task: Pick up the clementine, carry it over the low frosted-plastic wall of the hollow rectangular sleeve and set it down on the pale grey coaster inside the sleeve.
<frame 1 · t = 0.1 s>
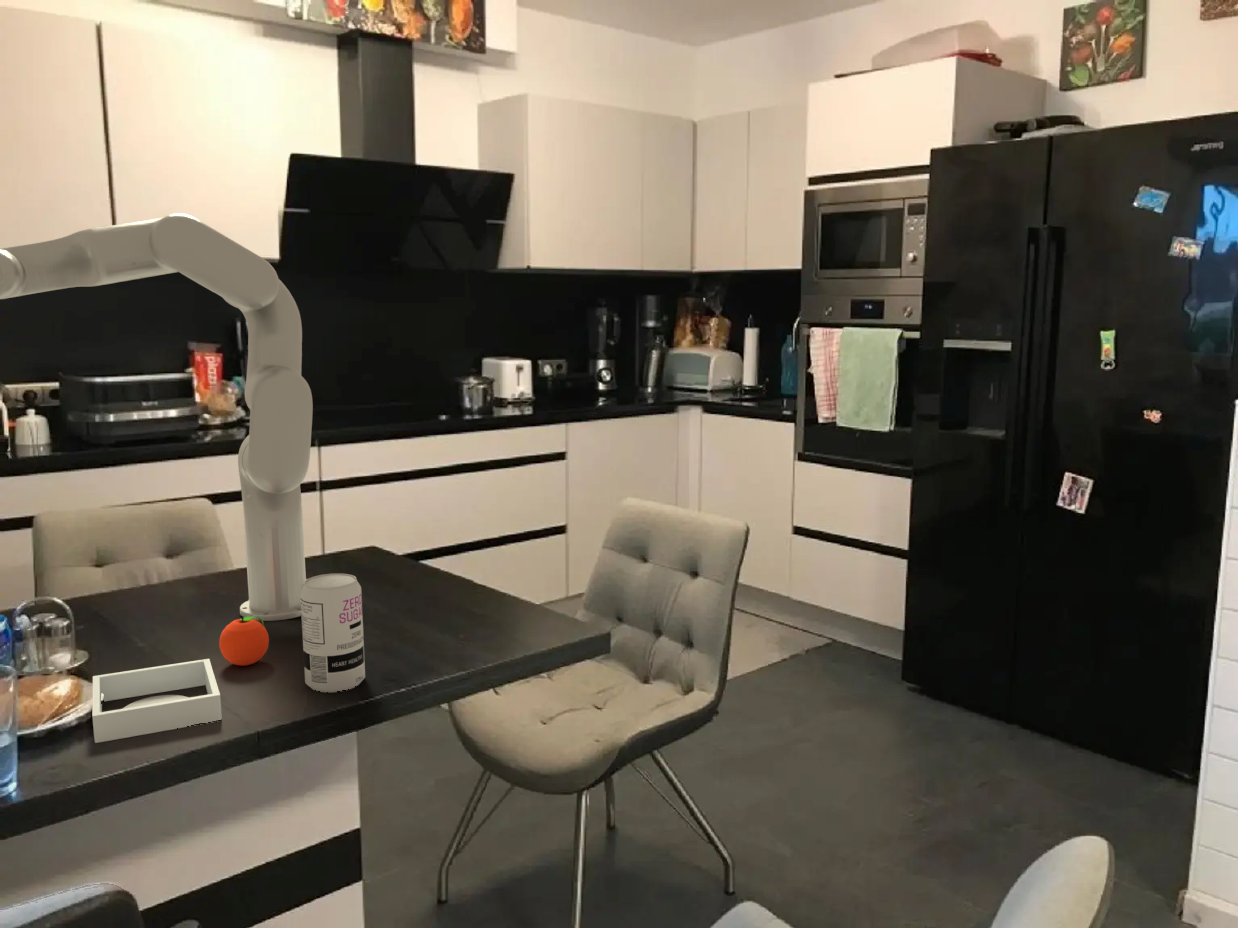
supplement can: (335, 684, 143), on the counter
hollow rectangular sleeve: (157, 710, 134), on the counter
clementine: (248, 664, 151), on the counter
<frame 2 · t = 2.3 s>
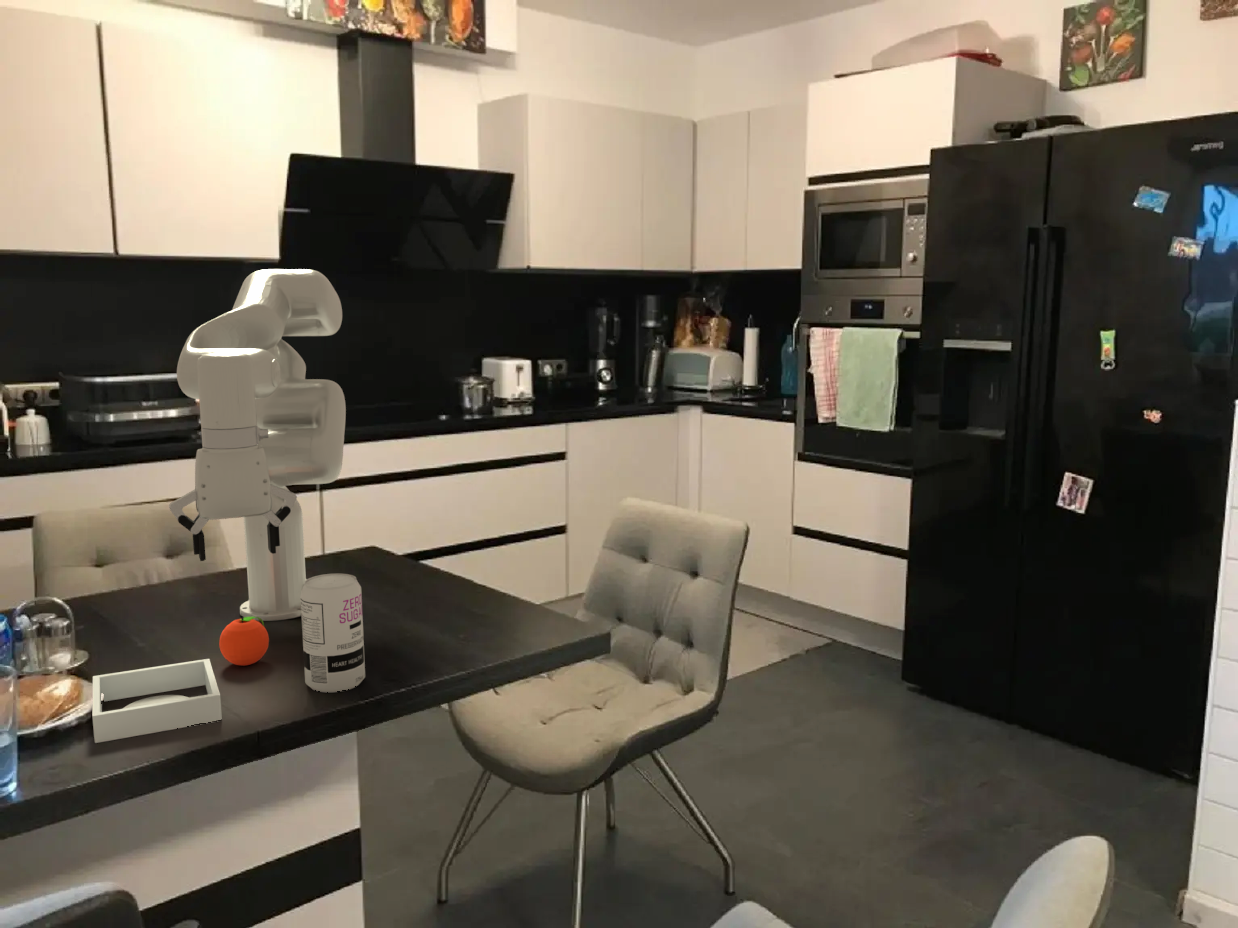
hand: (237, 555, 148), 17 cm above the counter, tool pointing down, fingers open, 9 cm apart
nothing on the counter moved.
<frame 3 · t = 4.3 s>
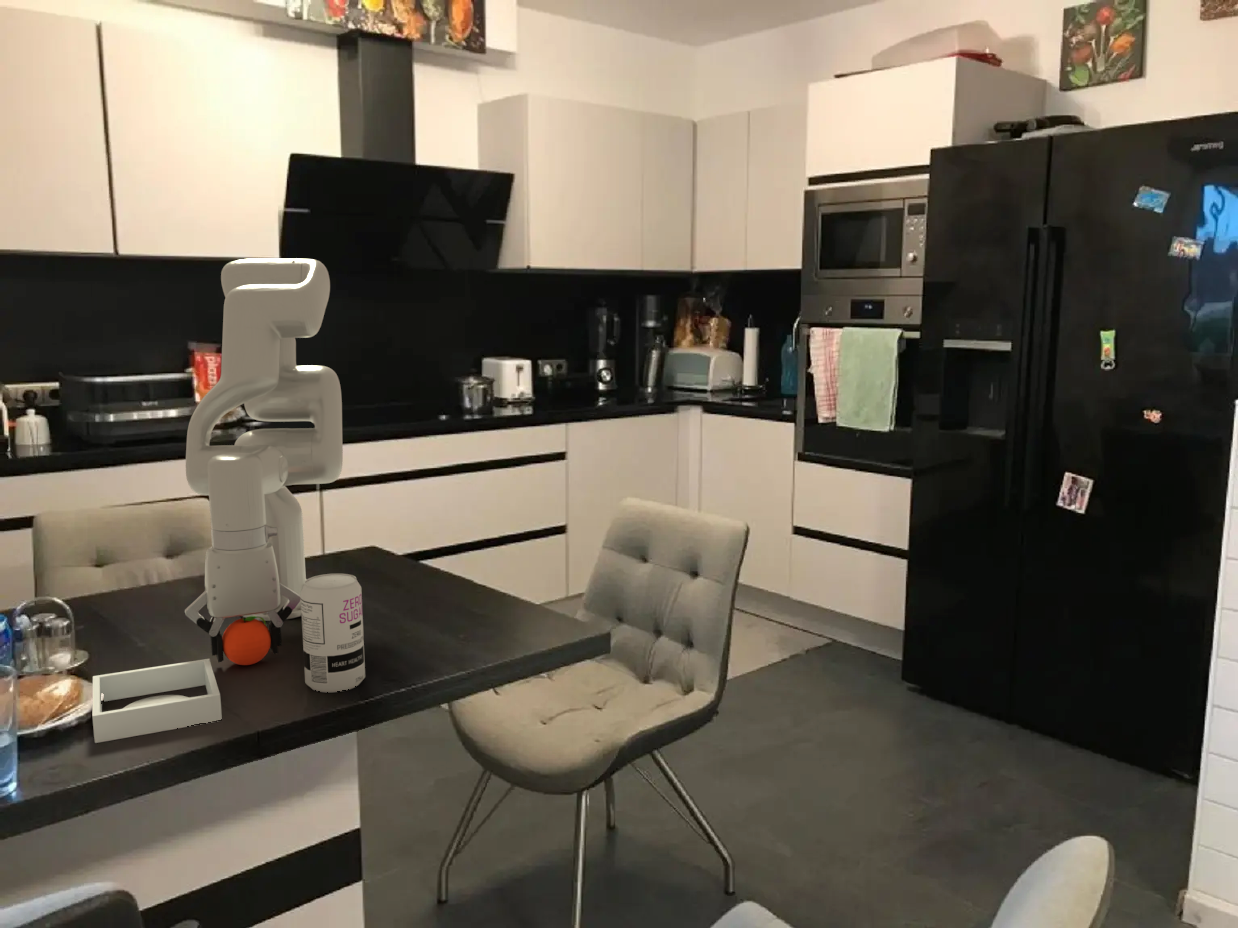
hand: (247, 654, 151), 1 cm above the counter, tool pointing down, fingers closed on clementine, 7 cm apart
clementine: (250, 663, 151), on the counter, touching gripper
everything else where it was.
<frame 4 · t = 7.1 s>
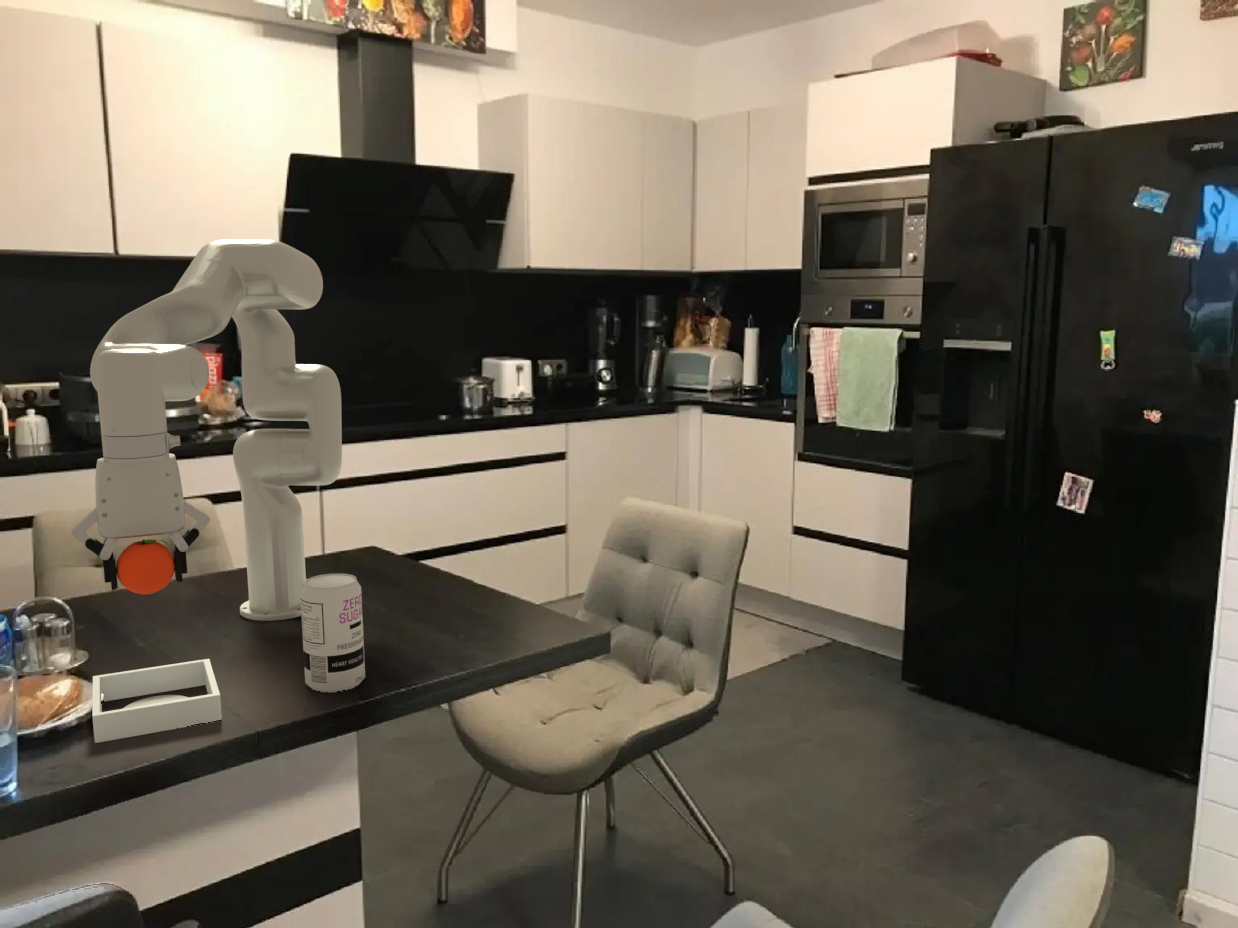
hand: (147, 582, 131), 17 cm above the counter, tool pointing down, fingers closed on clementine, 7 cm apart
clementine: (151, 593, 132), point 16 cm above the counter, touching gripper
everything else where it was.
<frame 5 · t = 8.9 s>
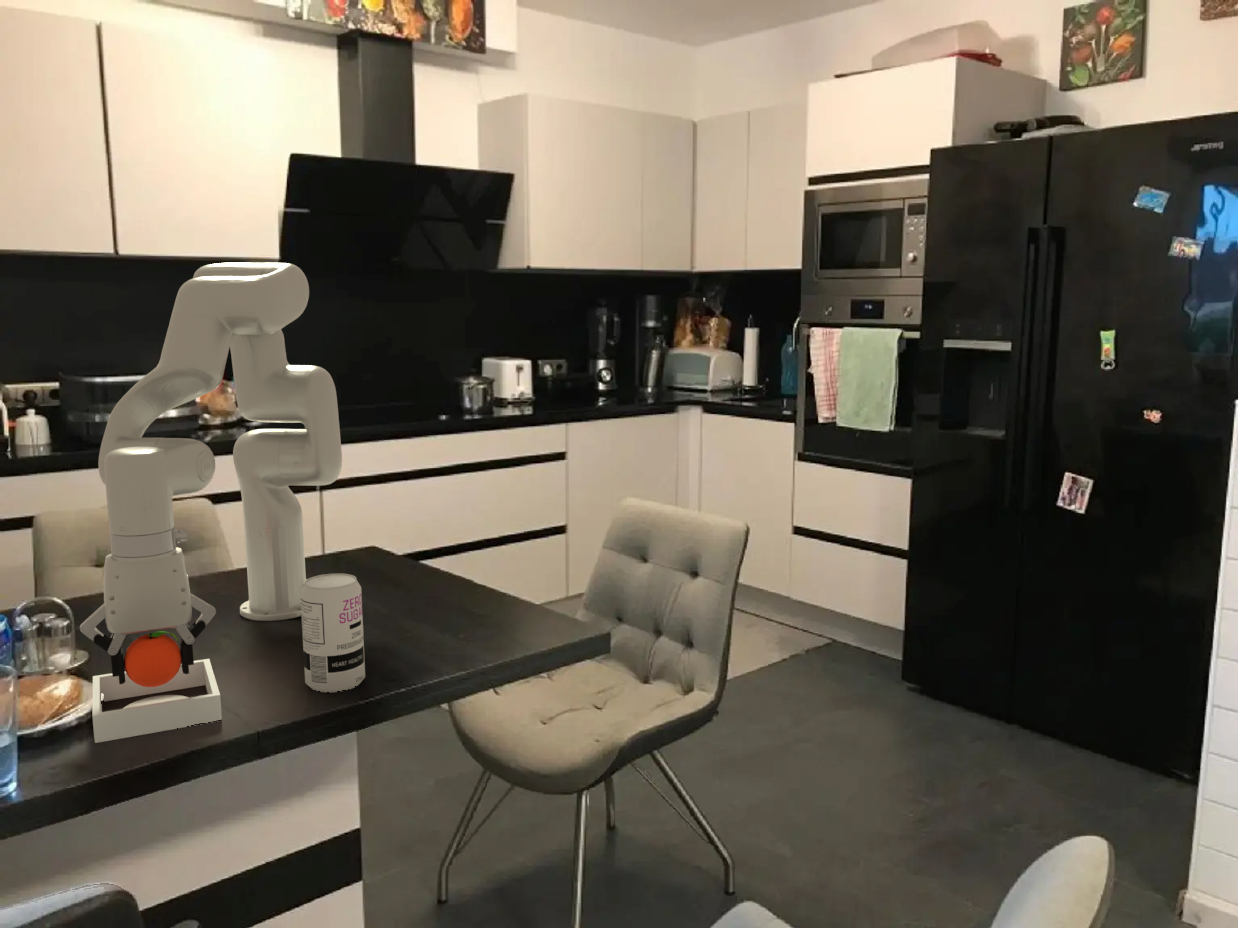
hand: (154, 674, 133), 5 cm above the counter, tool pointing down, fingers closed on clementine, 7 cm apart
clementine: (158, 685, 134), point 3 cm above the counter, touching gripper
everything else where it was.
when the fingers open (4 cm above the counter, at t = 10.0 s): clementine drops 2 cm, resting on hollow rectangular sleeve.
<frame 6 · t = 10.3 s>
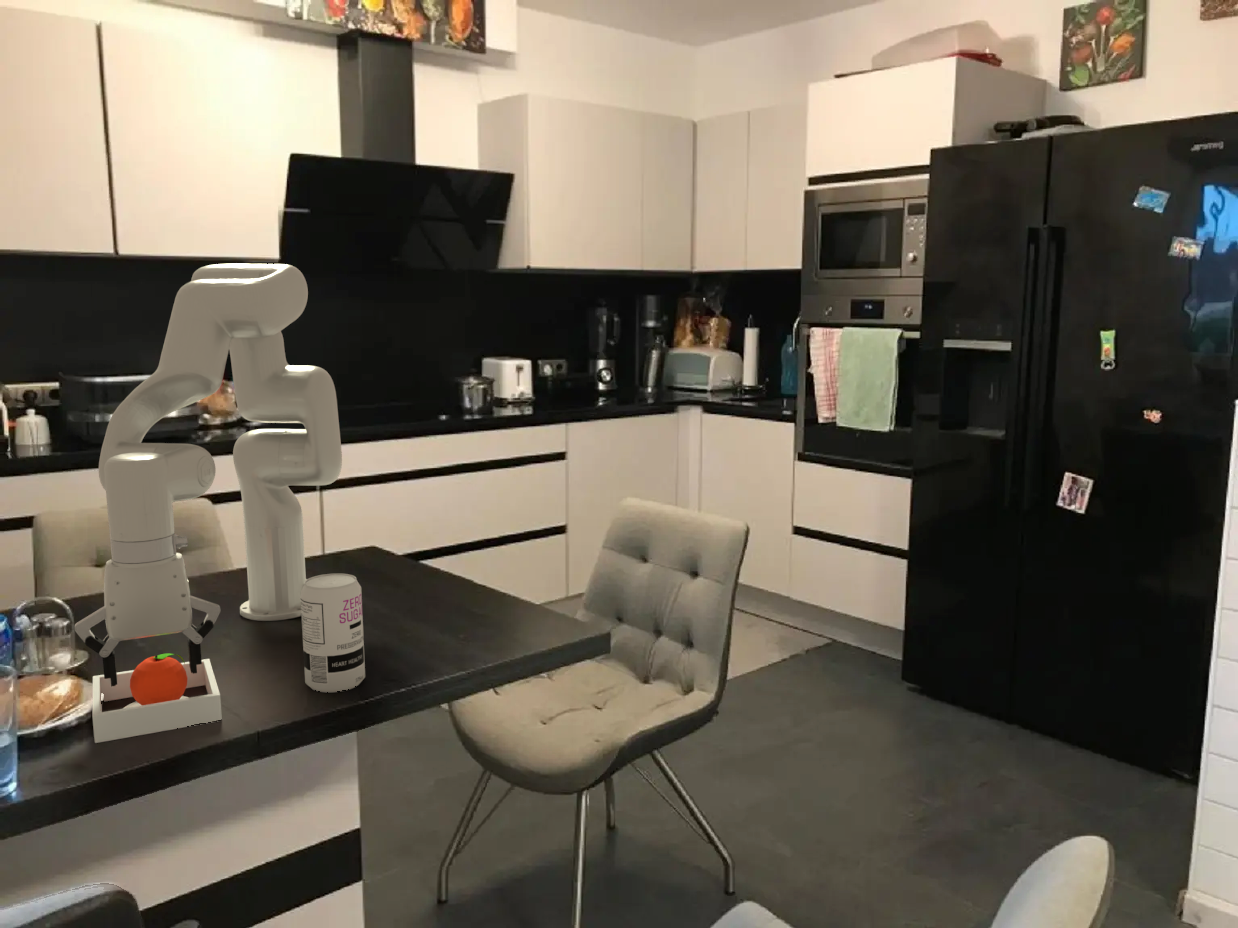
hand: (154, 676, 133), 5 cm above the counter, tool pointing down, fingers open, 9 cm apart
clementine: (164, 706, 135), resting on hollow rectangular sleeve
everything else where it was.
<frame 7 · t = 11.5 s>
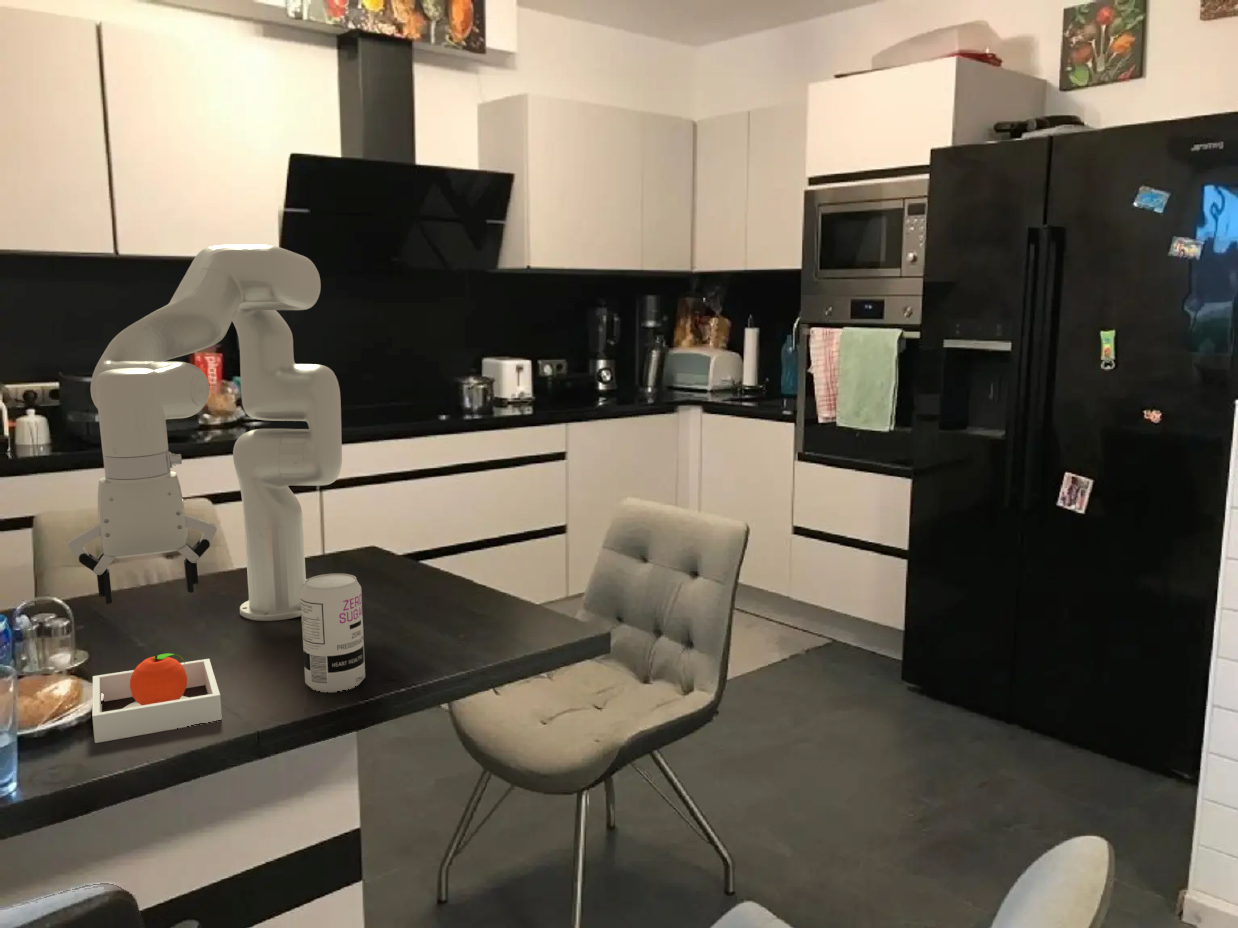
hand: (150, 595, 132), 16 cm above the counter, tool pointing down, fingers open, 9 cm apart
nothing on the counter moved.
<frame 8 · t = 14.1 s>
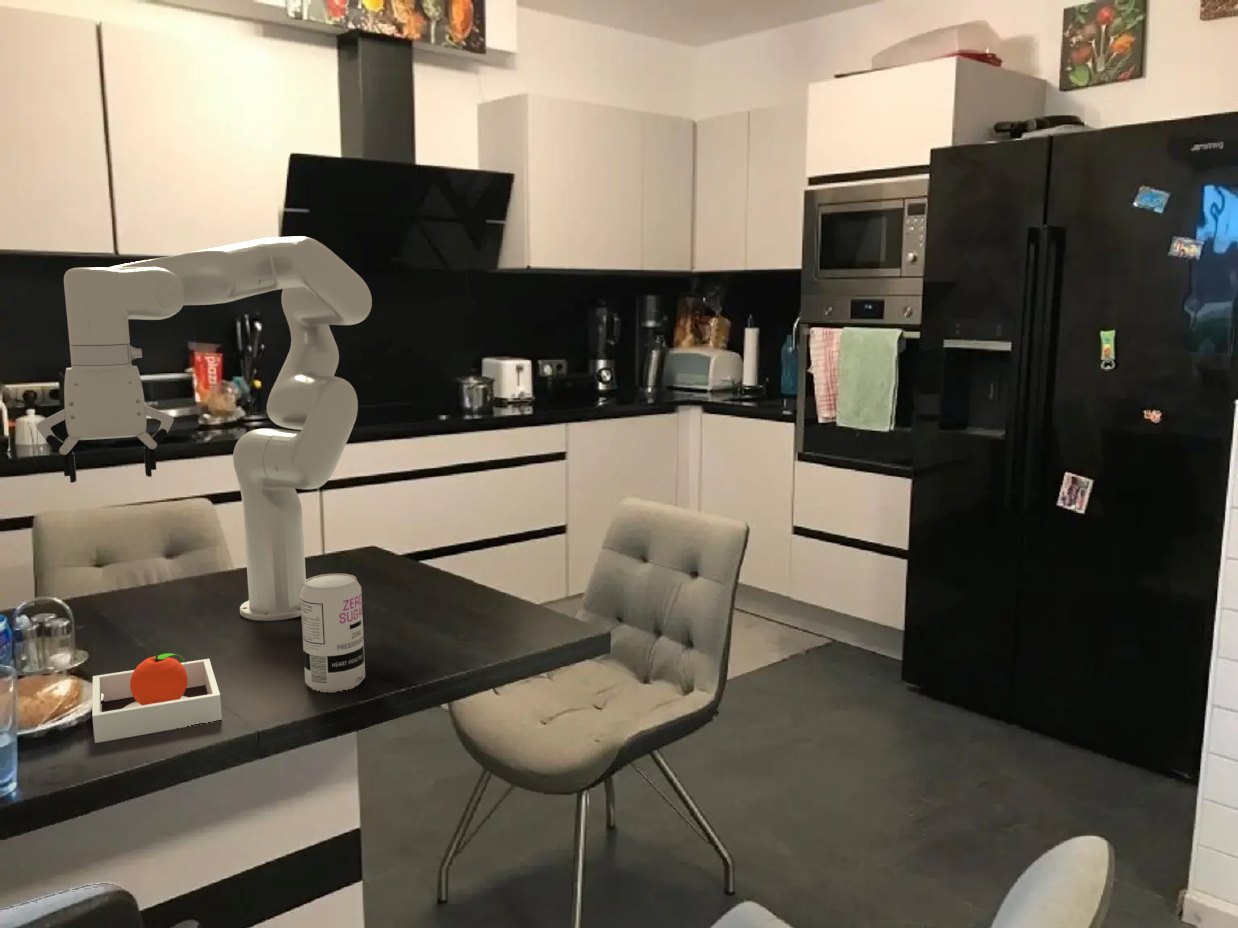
hand: (111, 478, 145), 28 cm above the counter, tool pointing down, fingers open, 9 cm apart
nothing on the counter moved.
at the end: clementine inside the target area on the hollow rectangular sleeve (1.0 cm from its centre), point 0.1 cm above the hollow rectangular sleeve's base; the gripper is holding nothing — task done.
